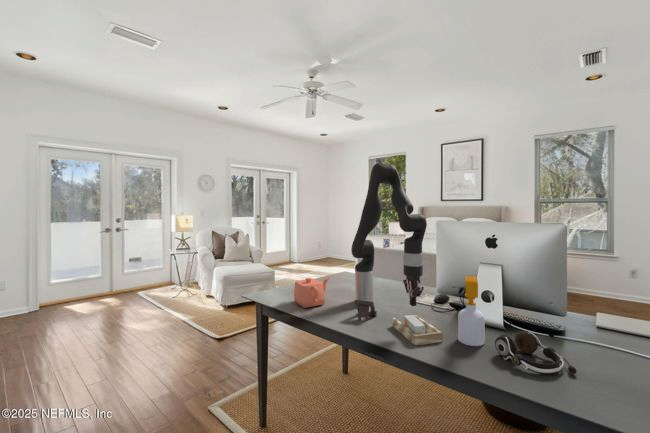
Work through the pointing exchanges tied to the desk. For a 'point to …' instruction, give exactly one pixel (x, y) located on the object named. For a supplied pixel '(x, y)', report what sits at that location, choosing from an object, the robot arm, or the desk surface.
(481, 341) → the soap bottle
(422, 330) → the skincare box
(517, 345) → the headset
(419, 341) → the wooden tray
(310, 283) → the teapot
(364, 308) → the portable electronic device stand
